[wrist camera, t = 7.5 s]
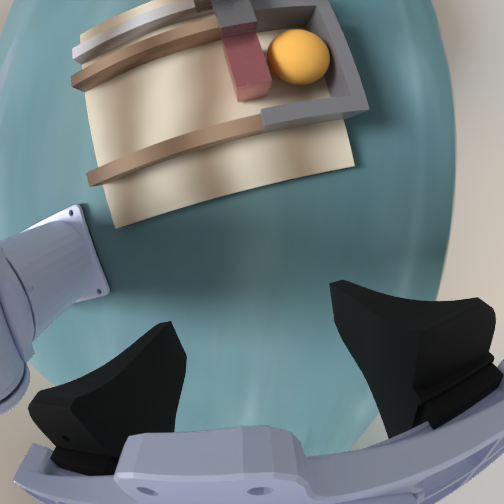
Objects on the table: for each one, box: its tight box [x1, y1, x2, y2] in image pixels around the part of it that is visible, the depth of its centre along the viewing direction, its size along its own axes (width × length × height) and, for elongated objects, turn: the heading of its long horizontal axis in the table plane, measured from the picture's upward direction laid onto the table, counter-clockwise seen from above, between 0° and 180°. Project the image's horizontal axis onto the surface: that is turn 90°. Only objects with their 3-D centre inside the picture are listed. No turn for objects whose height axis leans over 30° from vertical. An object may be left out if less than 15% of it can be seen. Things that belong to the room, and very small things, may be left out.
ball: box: [267, 29, 330, 85], centre depth 14 cm, size 4×4×4 cm
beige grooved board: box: [71, 0, 355, 229], centre depth 15 cm, size 18×18×3 cm
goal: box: [250, 0, 370, 133], centre depth 14 cm, size 6×9×3 cm
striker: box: [193, 0, 272, 102], centre depth 11 cm, size 4×10×8 cm, turn 14°
